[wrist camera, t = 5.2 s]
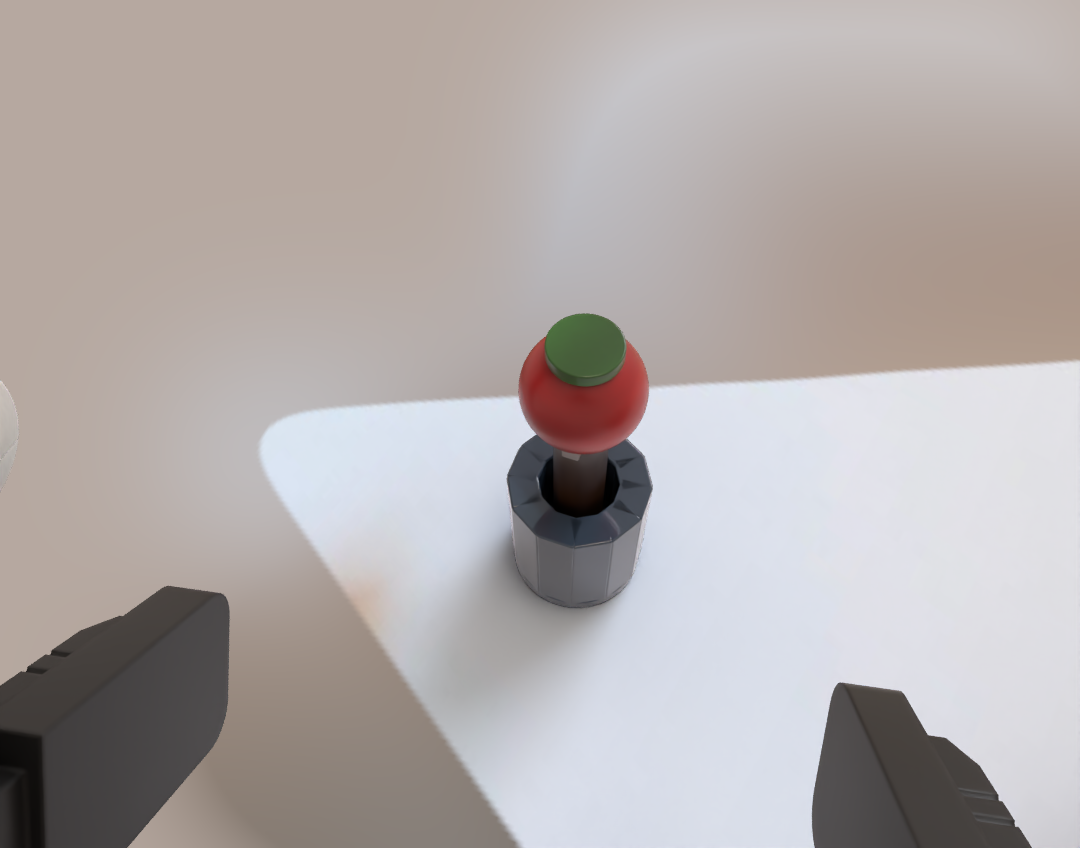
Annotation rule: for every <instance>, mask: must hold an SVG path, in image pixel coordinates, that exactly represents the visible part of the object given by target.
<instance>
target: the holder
mask: <svg viewBox="0 0 1080 848" xmlns="http://www.w3.org/2000/svg"><path fill="white" fill-rule="evenodd" d="M652 487H653V485H652V481H651V478H650V474H649V470H648V467H647V463H646V459H645V456H644V455H643V454H642V453H641V452H640V451H639V450H638V449H637V448H636V447H635V446H634V445H633V444H632V443H631V442H630V441H629V440H628V439H625V440H624V441H623V442H621V443H620V444H618V445H617V446H615V447H613V448H610V449H608V460H607V470H606V480H605V490H604V501H603V511H601V512H600V513H599V514H598V515H591V516H585V517H579V518H575V517H572V516H569V515H566V514H563V513H560V512H557V511H555V510H554V501H553V446H551V445H549V444H548V443H546V442H545V441H543V440H542V439H541V438H540V437H539V436H538V435H535V436H534V437H532V438H531V439H530V440H528V441H527V442H525V443H524V444H522V446H521V447H520V448H519V450H518V452H517V454H516V456H515V459H514V461H513V463H512V465H511V467H510V470H509V472H508V474H507V489H508V499H509V509H510V519H511V530H512V540H513V546H514V552H515V560H516V564H517V567H518V570H519V572H520V574H521V576H522V578H523V580H524V581H525V582H526V584H527V585H528V586H529V587H530V588H531V589H532V590H533V591H534V592H535V593H536V594H538V595H539V596H540V597H542V598H544V599H545V600H547V601H549V602H552V603H554V604H557V605H561V606H565V607H573V608H581V607H590V606H594V605H598V604H600V603H603V602H605V601H607V600H609V599H611V598H612V597H614V596H615V595H617V594H618V593H619V592H620V591H621V590H622V589H623V588H624V587H625V586H626V585H627V583H628V582H629V580H630V579H631V577H632V575H633V573H634V571H635V568H636V564H637V560H638V557H639V554H640V551H641V547H642V542H643V536H644V531H645V526H646V521H647V516H648V511H649V505H650V500H651V495H652V490H653V488H652Z"/></svg>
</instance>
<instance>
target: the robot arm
mask: <svg viewBox="0 0 1080 848" xmlns="http://www.w3.org/2000/svg"><path fill="white" fill-rule="evenodd" d="M228 669H229V605H228V601H227V599H226V597H225V596H224V595H223V594H221V593H215V592H208V591H201V590H194V589H186V588H180V587H172V586H166V587H164V588H162V589H160V590H159V591H158V592H156V593H155V594H153V595H152V596H150V597H149V598H148V599H146V600H145V601H144V602H142V603H141V604H139V605H138V606H137V607H135V608H134V609H132V610H131V611H130V612H128V613H127V614H125V615H124V616H118V617H115V618H113V619H110V620H107V621H105V622H102V623H99V624H97V625H94V626H92V627H89V628H86V629H84V630H81V631H79V632H78V633H76V634H75V635H73V636H72V637H70V638H69V639H68V640H66V641H65V642H63V643H62V644H60V645H59V646H57V647H56V648H54V649H53V650H52V651H51V654H50V655H44V656H43V657H41V658H40V659H38V660H37V661H36V662H34V663H33V664H31V665H30V666H28V667H27V671H26V672H20V673H18V674H17V675H15V676H14V677H13V678H11V679H9V680H8V681H7V682H5V683H4V684H2V685H1V686H0V848H127V847H128V846H129V845H130V844H131V843H132V841H133V840H134V839H135V838H136V837H137V836H138V834H139V833H140V832H141V831H142V830H143V828H144V827H145V826H146V825H147V824H148V823H149V821H150V820H151V819H152V818H153V817H154V816H155V814H156V813H157V812H158V811H159V810H160V808H161V807H162V806H163V805H164V804H165V803H166V802H167V800H168V799H169V798H170V797H171V796H172V795H173V793H174V792H175V791H176V790H177V789H178V787H179V786H180V785H181V784H182V783H183V782H184V780H185V779H186V778H187V777H188V776H189V774H190V773H191V772H192V771H193V770H194V769H195V768H196V766H197V765H198V764H199V763H200V762H201V761H202V759H203V758H204V757H205V756H206V755H207V753H208V752H209V751H210V750H211V748H212V747H213V746H214V744H215V742H216V740H217V739H218V737H219V734H220V732H221V729H222V726H223V723H224V720H225V716H226V711H227V704H228ZM998 796H999V795H998V794H997V792H996V791H995V789H994V788H993V786H992V785H991V783H990V781H989V780H988V778H987V777H986V775H985V774H984V772H983V770H982V769H981V767H980V766H979V765H978V764H977V763H975V762H974V761H973V760H972V759H971V758H969V757H968V756H967V755H966V754H965V753H963V752H962V751H961V750H960V749H958V748H957V747H956V746H955V745H954V744H952V743H951V742H950V741H949V740H947V739H946V738H942V737H935V736H929V735H927V733H926V731H925V730H924V728H923V726H922V724H921V723H920V721H919V719H918V718H917V716H916V714H915V712H914V711H913V709H912V707H911V705H910V704H909V702H908V700H907V698H906V697H905V695H904V694H903V693H902V692H901V691H897V690H890V689H883V688H876V687H869V686H862V685H855V684H848V683H838V684H837V685H836V687H835V689H834V691H833V694H832V697H831V702H830V707H829V712H828V718H827V723H826V729H825V734H824V740H823V745H822V750H821V756H820V761H819V767H818V772H817V778H816V783H815V788H814V795H813V805H812V831H813V840H814V845H815V848H1032V847H1031V846H1030V844H1029V842H1028V841H1027V839H1026V838H1025V836H1024V835H1023V833H1022V831H1021V830H1020V828H1019V827H1015V824H1014V822H1015V820H1014V819H1013V817H1012V816H1011V814H1010V813H1009V811H1008V810H1007V808H1006V806H1005V805H1004V803H1003V802H1002V801H999V800H998Z"/></svg>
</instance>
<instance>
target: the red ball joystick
mask: <svg viewBox="0 0 1080 848" xmlns="http://www.w3.org/2000/svg"><path fill="white" fill-rule="evenodd" d="M518 392H519V400H520V405H521V409H522V412H523V414H524V416H525V419H526V421H527V422H528V424H529V426H530V427H531V428H532V430H533V431H534V432H535V433H536V434H537V435H538V436H539V437H540V438H541V439H542V440H543V441H545V442H546V443H548V444H549V445H551V446H553V501H554V510H555V511H557V512H560V513H563V514H566V515H569V516H572V517H575V518H579V517H585V516H591V515H598V514H599V513H600V512H601V511H603V501H604V490H605V480H606V470H607V460H608V449H610V448H613V447H615V446H617V445H618V444H620V443H621V442H623V441H624V440H625V439H626V438H627V437H629V436H630V434H631V433H632V432H633V431H634V430H635V429H636V427H637V426H638V424H639V423H640V421H641V419H642V417H643V415H644V413H645V410H646V406H647V402H648V396H649V382H648V376H647V372H646V368H645V366H644V363H643V361H642V359H641V357H640V356H639V354H638V353H637V351H636V350H635V348H634V347H633V346H632V345H631V344H630V343H629V342H628V341H627V340H626V339H625V337H624V335H623V333H622V331H621V330H620V329H619V327H618V326H616V325H615V324H614V323H613V322H612V321H610V320H609V319H607V318H604V317H602V316H599V315H594V314H575V315H571V316H568V317H566V318H563V319H562V320H560V321H558V322H557V323H556V324H555V325H554V326H553V327H552V328H551V329H550V330H549V332H548V334H547V336H546V337H544V338H543V339H542V340H541V341H540V342H539V343H537V345H536V346H535V347H534V348H533V349H532V350H531V352H530V353H529V355H528V357H527V359H526V360H525V362H524V364H523V367H522V370H521V374H520V378H519V391H518Z"/></svg>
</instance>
